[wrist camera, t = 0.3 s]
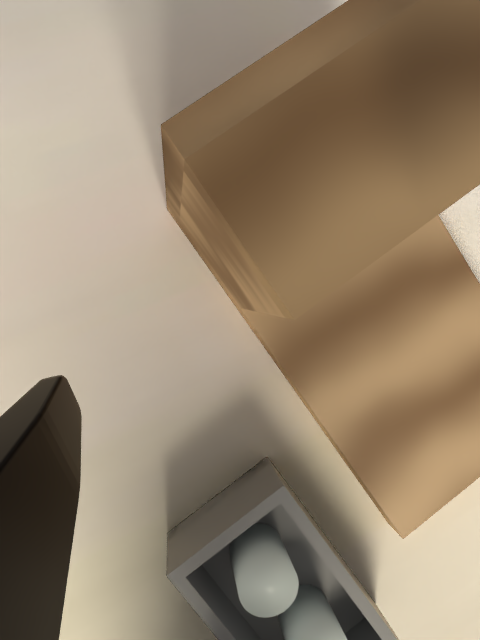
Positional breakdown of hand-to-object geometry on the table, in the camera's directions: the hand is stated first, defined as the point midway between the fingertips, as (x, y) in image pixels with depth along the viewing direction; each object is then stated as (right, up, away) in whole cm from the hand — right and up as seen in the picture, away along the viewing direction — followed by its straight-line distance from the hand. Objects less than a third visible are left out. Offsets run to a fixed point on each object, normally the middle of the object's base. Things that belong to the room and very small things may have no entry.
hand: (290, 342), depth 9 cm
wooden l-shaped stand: (+5, +1, +15) cm, 16 cm away
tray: (+1, -13, +15) cm, 20 cm away
